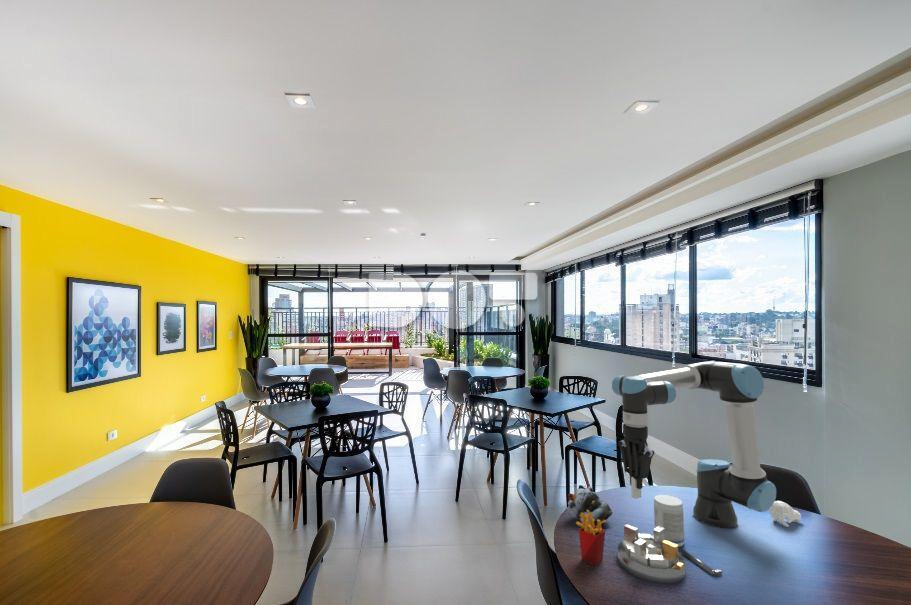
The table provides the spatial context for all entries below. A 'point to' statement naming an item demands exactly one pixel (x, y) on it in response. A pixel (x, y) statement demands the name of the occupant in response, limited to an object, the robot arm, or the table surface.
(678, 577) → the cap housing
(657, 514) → the supplement tub
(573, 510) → the lucky cat figurine
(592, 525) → the french fries
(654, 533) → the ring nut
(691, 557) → the pin spanner
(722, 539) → the table surface
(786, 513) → the white animal figurine
